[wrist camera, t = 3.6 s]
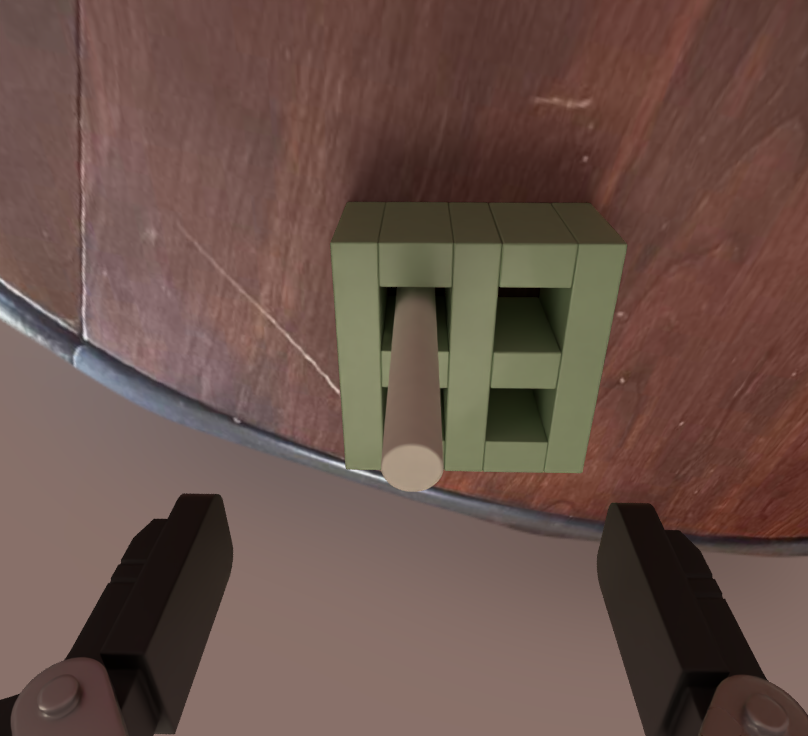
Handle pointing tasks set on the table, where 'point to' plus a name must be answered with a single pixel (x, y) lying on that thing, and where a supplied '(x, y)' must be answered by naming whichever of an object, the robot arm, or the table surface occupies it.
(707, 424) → the table surface
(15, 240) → the table surface
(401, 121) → the table surface
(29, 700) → the robot arm
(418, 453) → the stylus
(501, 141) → the table surface
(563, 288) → the pen stand
